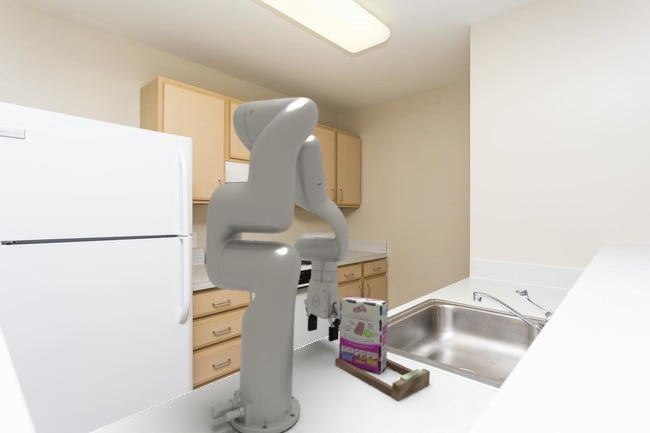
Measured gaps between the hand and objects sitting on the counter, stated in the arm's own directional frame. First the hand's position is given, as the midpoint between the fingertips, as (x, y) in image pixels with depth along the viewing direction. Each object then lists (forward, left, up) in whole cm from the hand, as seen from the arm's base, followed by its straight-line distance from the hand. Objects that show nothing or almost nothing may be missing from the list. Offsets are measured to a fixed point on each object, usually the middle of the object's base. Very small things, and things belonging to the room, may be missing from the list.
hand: (322, 335), depth 93 cm
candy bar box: (0, -16, -3) cm, 16 cm away
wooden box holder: (0, -22, -3) cm, 22 cm away
